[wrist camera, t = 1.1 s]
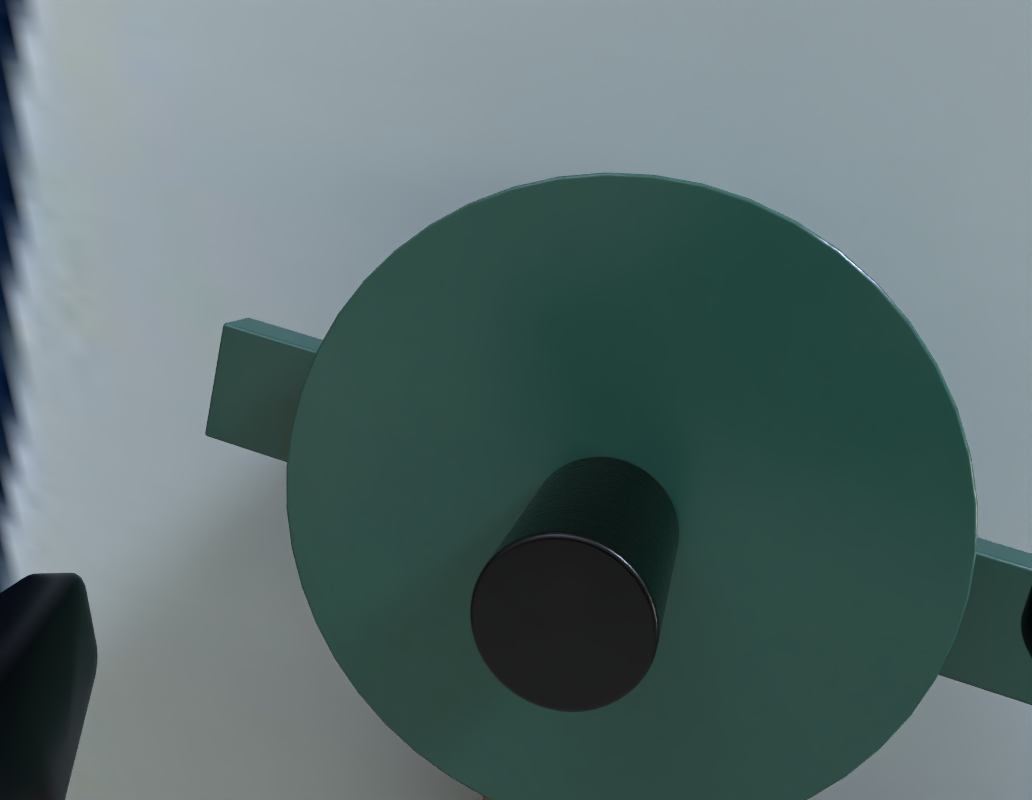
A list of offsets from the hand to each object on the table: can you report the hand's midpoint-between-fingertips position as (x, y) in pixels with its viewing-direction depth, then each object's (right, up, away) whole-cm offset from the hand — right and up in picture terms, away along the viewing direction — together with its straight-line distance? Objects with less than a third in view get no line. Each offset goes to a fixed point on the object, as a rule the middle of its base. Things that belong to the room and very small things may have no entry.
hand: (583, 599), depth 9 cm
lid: (+1, 0, +8) cm, 8 cm away
